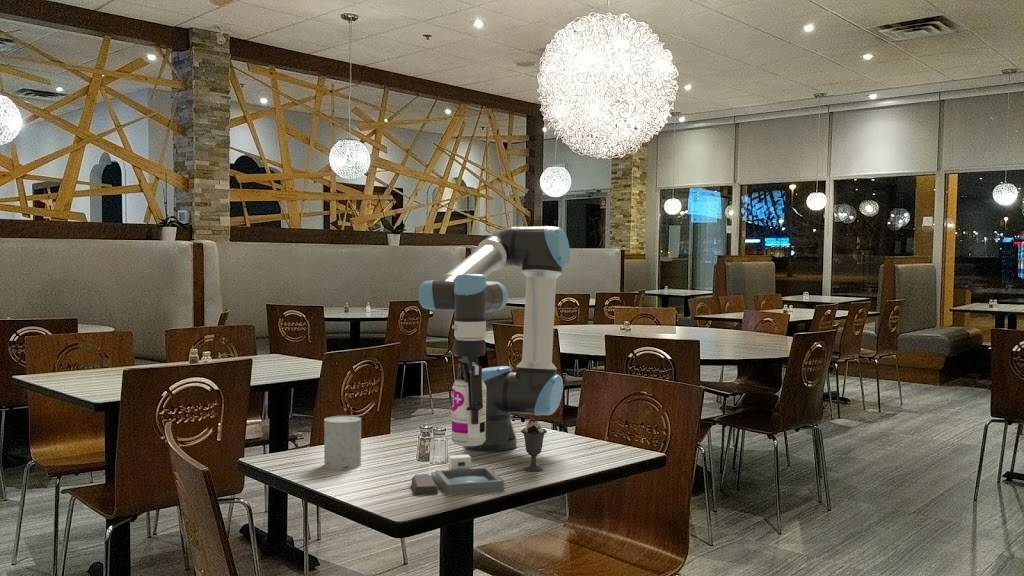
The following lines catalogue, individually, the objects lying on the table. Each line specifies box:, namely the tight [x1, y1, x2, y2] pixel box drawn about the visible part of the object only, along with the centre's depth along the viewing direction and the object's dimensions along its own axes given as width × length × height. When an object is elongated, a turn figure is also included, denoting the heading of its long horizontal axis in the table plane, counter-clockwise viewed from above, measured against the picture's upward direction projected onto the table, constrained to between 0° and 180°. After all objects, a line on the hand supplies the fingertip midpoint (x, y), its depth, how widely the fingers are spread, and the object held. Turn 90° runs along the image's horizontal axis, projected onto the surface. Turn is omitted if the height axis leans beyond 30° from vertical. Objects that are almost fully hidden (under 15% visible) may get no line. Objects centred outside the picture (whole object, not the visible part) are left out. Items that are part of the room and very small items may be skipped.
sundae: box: [520, 411, 548, 473], centre depth 211 cm, size 7×7×15 cm
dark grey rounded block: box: [411, 473, 439, 496], centre depth 192 cm, size 5×12×3 cm, turn 12°
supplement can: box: [451, 378, 486, 447], centre depth 194 cm, size 8×8×15 cm
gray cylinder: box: [323, 415, 362, 471], centre depth 213 cm, size 10×10×12 cm
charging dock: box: [430, 454, 505, 496], centre depth 197 cm, size 14×18×5 cm
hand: (468, 433), depth 194 cm, fingers closed on supplement can, 8 cm apart
